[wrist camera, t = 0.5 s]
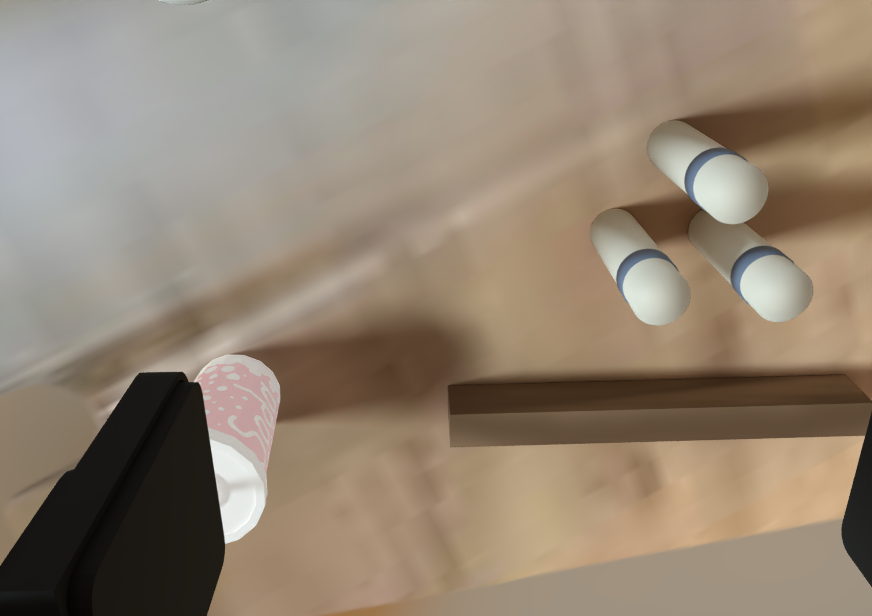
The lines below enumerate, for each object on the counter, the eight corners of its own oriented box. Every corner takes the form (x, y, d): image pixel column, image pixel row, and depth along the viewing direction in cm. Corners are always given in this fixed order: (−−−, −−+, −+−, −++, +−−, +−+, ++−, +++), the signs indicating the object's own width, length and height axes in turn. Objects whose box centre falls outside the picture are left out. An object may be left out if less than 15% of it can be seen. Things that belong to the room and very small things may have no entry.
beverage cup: (305, 429, 44) (259, 623, 31) (199, 445, 44) (111, 643, 31) (279, 333, 41) (218, 501, 29) (168, 350, 42) (57, 524, 29)
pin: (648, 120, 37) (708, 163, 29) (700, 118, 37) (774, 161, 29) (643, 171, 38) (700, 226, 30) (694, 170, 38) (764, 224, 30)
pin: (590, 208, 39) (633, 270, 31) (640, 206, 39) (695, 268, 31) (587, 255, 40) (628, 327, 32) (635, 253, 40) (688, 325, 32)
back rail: (447, 385, 43) (449, 414, 40) (845, 374, 43) (874, 403, 40) (448, 416, 44) (450, 447, 41) (838, 405, 44) (865, 435, 41)
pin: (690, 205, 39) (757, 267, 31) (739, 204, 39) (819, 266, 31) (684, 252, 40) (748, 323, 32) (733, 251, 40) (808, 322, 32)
